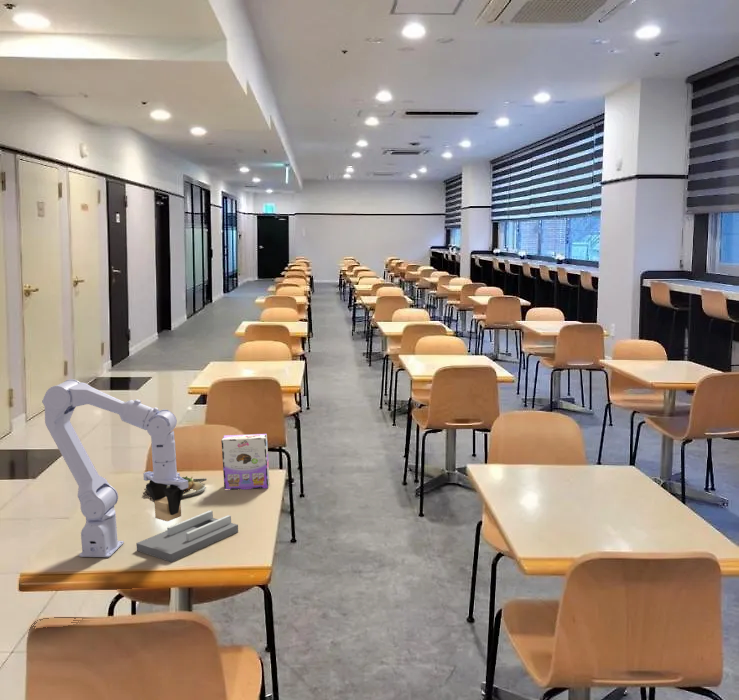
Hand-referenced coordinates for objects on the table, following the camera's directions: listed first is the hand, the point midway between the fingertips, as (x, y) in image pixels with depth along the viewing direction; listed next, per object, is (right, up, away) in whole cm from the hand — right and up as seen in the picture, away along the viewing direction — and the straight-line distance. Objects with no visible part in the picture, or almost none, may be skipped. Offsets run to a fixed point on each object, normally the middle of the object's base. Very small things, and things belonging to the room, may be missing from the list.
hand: (167, 511), depth 201 cm
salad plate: (-10, -4, +47) cm, 48 cm away
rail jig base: (+4, -9, +6) cm, 12 cm away
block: (0, -1, 0) cm, 1 cm away
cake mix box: (+12, -2, +49) cm, 51 cm away
